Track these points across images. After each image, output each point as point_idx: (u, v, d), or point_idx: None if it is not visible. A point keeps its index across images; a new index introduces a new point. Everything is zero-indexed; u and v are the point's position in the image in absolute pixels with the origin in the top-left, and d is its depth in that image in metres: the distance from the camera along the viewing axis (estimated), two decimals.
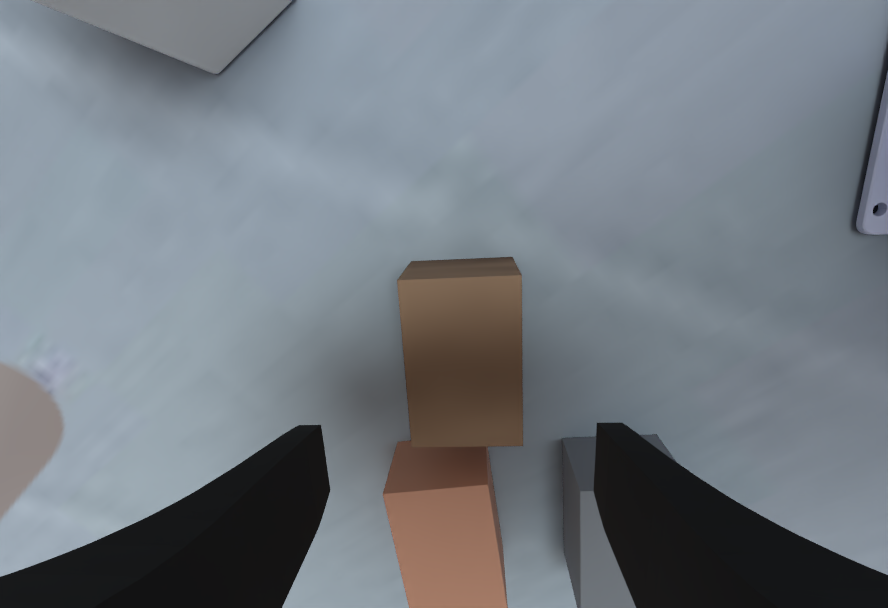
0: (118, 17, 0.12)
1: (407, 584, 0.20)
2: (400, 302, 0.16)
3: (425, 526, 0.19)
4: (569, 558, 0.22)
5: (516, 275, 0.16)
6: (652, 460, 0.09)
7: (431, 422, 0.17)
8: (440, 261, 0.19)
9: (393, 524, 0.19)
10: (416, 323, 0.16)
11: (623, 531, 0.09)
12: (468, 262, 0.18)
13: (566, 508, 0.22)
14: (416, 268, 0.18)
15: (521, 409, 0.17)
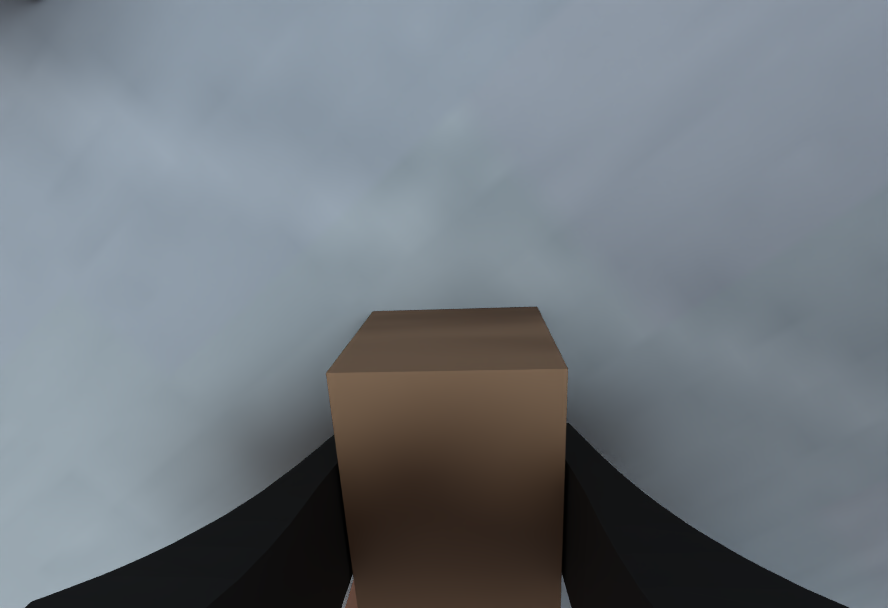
0: None
1: None
2: (333, 412, 0.08)
3: None
4: None
5: (557, 368, 0.08)
6: (585, 460, 0.09)
7: None
8: (418, 315, 0.11)
9: None
10: (365, 449, 0.09)
11: None
12: (465, 321, 0.11)
13: None
14: (374, 334, 0.10)
15: (558, 598, 0.09)
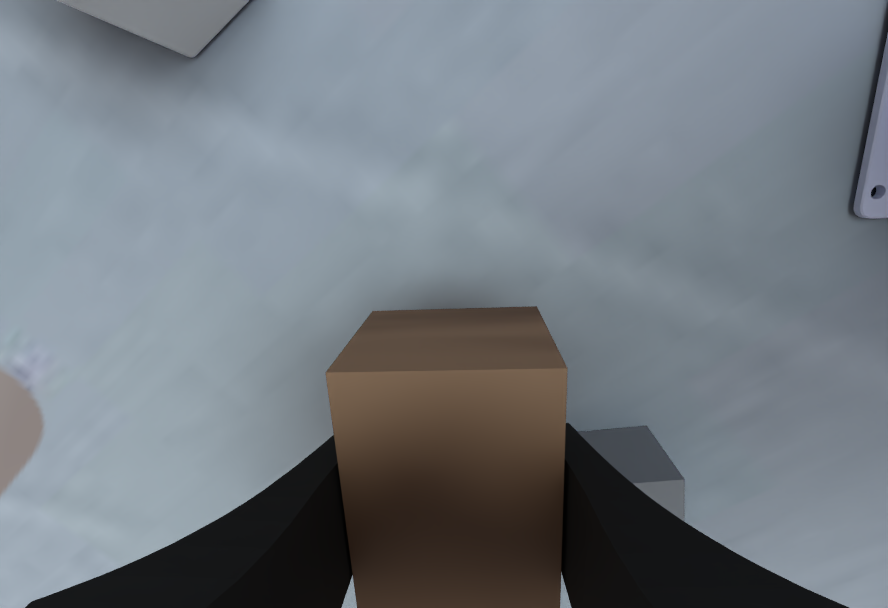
0: None
1: None
2: (333, 412, 0.08)
3: None
4: None
5: (556, 367, 0.08)
6: (585, 460, 0.09)
7: None
8: (418, 315, 0.11)
9: None
10: (364, 449, 0.09)
11: None
12: (464, 320, 0.11)
13: None
14: (373, 333, 0.10)
15: (558, 597, 0.09)
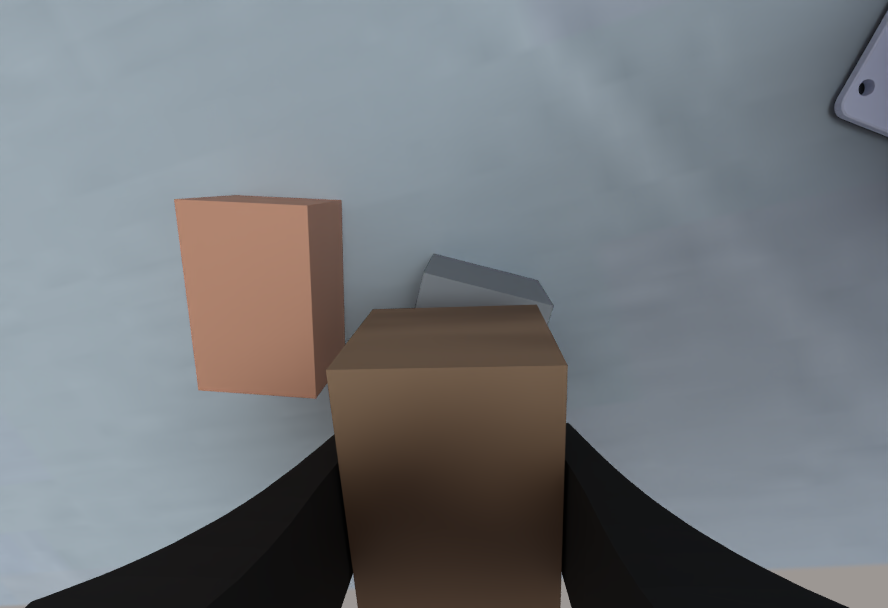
0: None
1: (196, 339, 0.16)
2: (333, 409, 0.08)
3: (225, 255, 0.15)
4: None
5: (557, 365, 0.08)
6: (585, 460, 0.09)
7: None
8: (418, 313, 0.11)
9: (184, 247, 0.15)
10: (365, 446, 0.09)
11: None
12: (464, 318, 0.11)
13: None
14: (373, 331, 0.10)
15: (558, 594, 0.09)
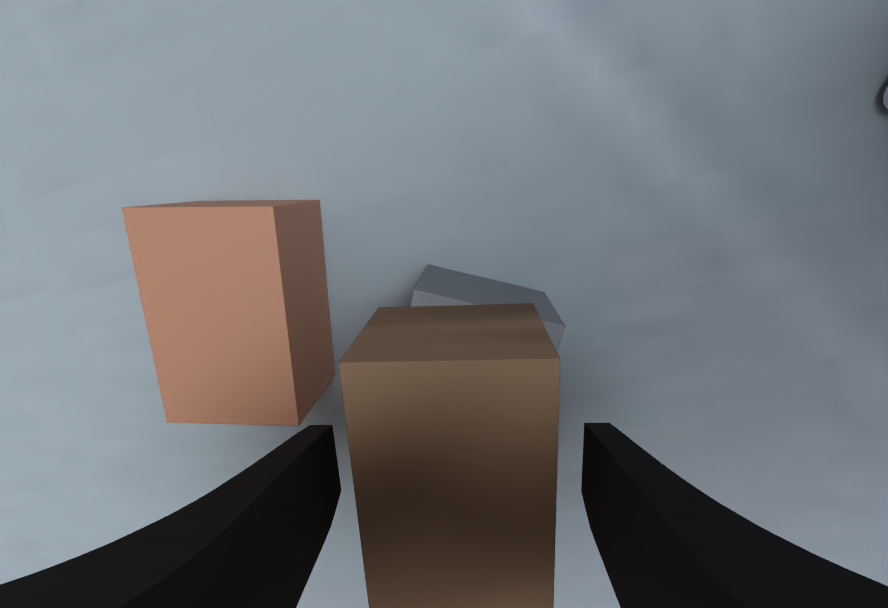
0: None
1: (159, 365, 0.14)
2: (345, 399, 0.09)
3: (184, 269, 0.13)
4: None
5: (550, 358, 0.09)
6: (636, 460, 0.09)
7: (401, 586, 0.11)
8: (422, 311, 0.12)
9: (137, 261, 0.13)
10: (374, 433, 0.09)
11: (608, 531, 0.09)
12: (465, 316, 0.12)
13: None
14: (380, 328, 0.11)
15: (552, 571, 0.10)
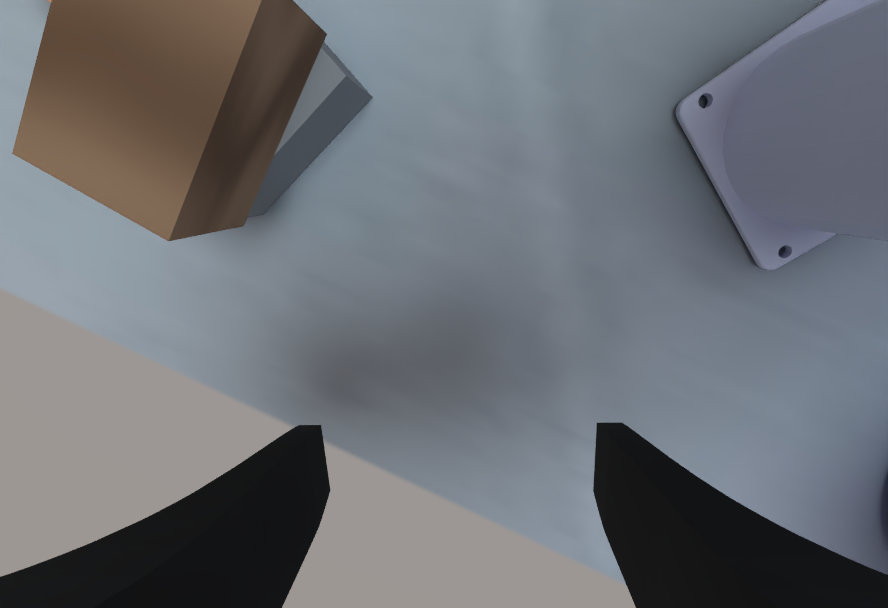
0: None
1: None
2: None
3: None
4: None
5: None
6: (652, 460, 0.09)
7: (54, 132, 0.11)
8: None
9: None
10: None
11: (623, 531, 0.09)
12: None
13: None
14: None
15: (187, 186, 0.11)
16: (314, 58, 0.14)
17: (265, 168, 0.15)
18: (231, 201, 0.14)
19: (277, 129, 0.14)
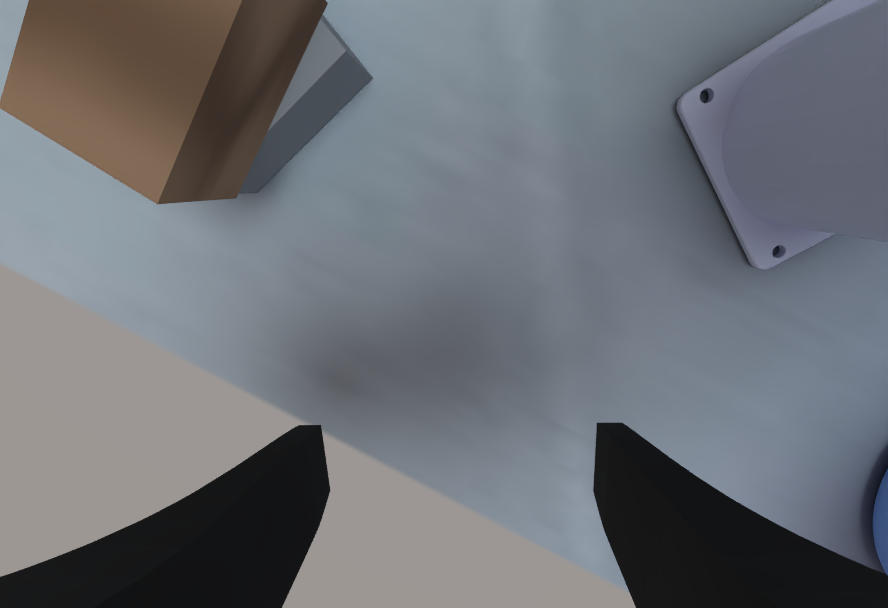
0: None
1: None
2: None
3: None
4: None
5: None
6: (652, 460, 0.09)
7: (43, 86, 0.11)
8: None
9: None
10: None
11: (623, 531, 0.09)
12: None
13: None
14: None
15: (178, 148, 0.11)
16: (314, 28, 0.14)
17: (260, 139, 0.15)
18: (224, 170, 0.14)
19: (274, 99, 0.14)
